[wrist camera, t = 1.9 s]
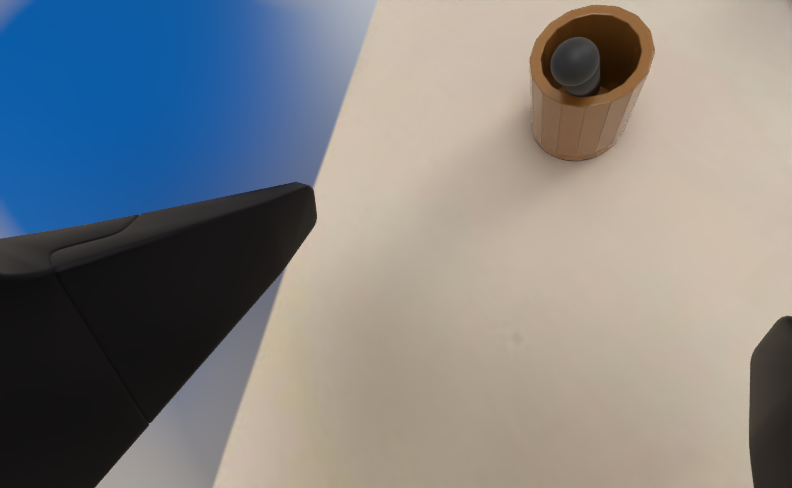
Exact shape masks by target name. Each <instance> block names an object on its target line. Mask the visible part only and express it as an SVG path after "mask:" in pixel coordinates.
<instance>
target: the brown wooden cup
mask: <svg viewBox="0 0 792 488" xmlns="http://www.w3.org/2000/svg"><path fill="white" fill-rule="evenodd" d="M575 37H583V38H587V39H589V40H591V41H592V42H593V43H594V44H595V45H596V46H597V48H598V51H599V55H600V90H599V92H598V94H597V95H596V96H591V97H579V96H572V95H571V94H570V93H569V92H568V91H567V90H566V89H565V88H564V87H563V86H562V85H561V84H559V83H558V82H557V81H556V80H555V78H554V77H553V75H552V72H551V59H552V56H553V54H554V52H555V50H556V49H557V48H558V46H559V45H560V44H562V43H563V42H564V41H566V40H568V39H571V38H575ZM654 51H655V49H654V44H653V39H652V35H651V31H650V29H649V28H648V27H647V26H646V25H645V24H644V23H643V21H642V20H641V19H640V18H639V17H638V16H636V14H633V13H631V12H629V11H627V10H624V9H622V8H620V7H616V6H605V5H590V6H587V7H583V8H579V9H575V10H571V11H569V12H567V13H566V14H564V15H562V16H561V17H559V18H557V19H556V20H554V21H553V22H551V23H550V24H549V25H548V26H547V27H546V29H545V30H544V31H543V32H542V33H541V35H540V36H539V37H538V38H537V39H536V41H535V44H534V47H533V50H532V53H531V56H530V96H531V120H532V131H533V134H534V137H535V139H536V141H537V143H538V144H539V145H540V146H541V147H542V148H543V149H544V150H545V151H546V152H547V153H549V154H551V155H553V156H555V157H557V158H560V159H564V160H585V159H590V158H593V157H596V156H598V155H600V154H602V153H603V152H605V151H607V150H608V149H609V148H610V147H612V146H613V145H614V144H615V143H616V141H617V140H618V139H619V137H620V136H621V134H622V132H623V131H624V129H625V126H626V124H627V122H628V119H629V117H630V115H631V112H632V110H633V108H634V105H635V103H636V101H637V98H638V96H639V94H640V91H641V89H642V87H643V84H644V82H645V80H646V77H647V75H648V73H649V70H650V67H651V63H652V60H653V56H654V53H655V52H654Z"/></svg>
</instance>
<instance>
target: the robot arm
mask: <svg viewBox="0 0 792 488" xmlns="http://www.w3.org/2000/svg"><path fill="white" fill-rule="evenodd" d="M316 220H317V212H316V203H315V195H314V190H313V188H312V187H311V186H309V185H305V184H302V183H298V182H294V183H289V184H284V185H279V186H274V187H269V188H264V189H259V190H255V191H250V192H245V193H240V194H235V195H230V196H225V197H221V198H216V199H211V200H206V201H201V202H196V203H192V204H187V205H182V206H177V207H172V208H167V209H163V210H157V211H153V212H148V213H143V214H141V215H140V216H139V215H133V216H128V217H123V218H118V219H113V220H108V221H103V222H97V223H93V224H87V225H81V226H75V227H70V228H64V229H58V230H52V231H46V232H39V233H34V234H28V235H21V236H15V237H9V238H2V239H0V488H95V487H96V486H97V484H98V483H99V482H100V481H101V480H102V479H103V478H104V476H105V475H106V474H107V473H108V472H109V471H110V469H111V468H112V467H113V466H114V465H115V464H116V463H117V462H118V460H119V459H120V458H121V457H122V456H123V455H124V453H125V452H126V451H127V450H128V449H129V448H130V447H131V445H132V444H133V443H134V442H135V441H136V440H137V438H138V437H139V436H140V435H141V434H142V433H143V432H144V430H145V429H146V428H147V427H148V426H149V423H151V422H152V421H153V420H154V418H155V417H156V416H157V415H158V414H159V413H160V412H161V410H162V409H163V408H164V407H165V406H166V405H167V404H168V402H169V401H170V400H171V399H172V398H173V397H174V396H175V394H176V393H177V392H178V391H179V390H180V389H181V388H182V386H183V385H184V384H185V383H186V382H187V381H188V379H189V378H190V377H191V376H192V375H193V374H194V373H195V371H196V370H197V369H198V368H199V367H200V366H201V365H202V363H203V362H204V361H205V360H206V359H207V358H208V356H209V355H210V354H211V353H212V352H213V351H214V350H215V348H216V347H217V346H218V345H219V344H220V343H221V342H222V340H223V339H224V338H225V337H226V336H227V335H228V333H229V332H230V331H231V330H232V329H233V328H234V327H235V326H236V324H237V323H238V322H239V321H240V320H241V319H242V317H243V316H244V315H245V314H246V313H247V312H248V311H249V309H250V308H251V307H252V306H253V305H254V304H255V303H256V301H257V300H258V299H259V298H260V297H261V296H262V295H263V293H264V292H265V291H266V290H267V289H268V288H269V286H270V285H271V284H272V283H273V281H275V280H276V278H277V277H278V276H279V275H280V274H281V272H282V271H283V270H284V268H285V267H286V266H287V264H288V263H289V262H290V260H291V259H292V257H293V256H294V254H295V253H296V252H297V250H298V249H299V247H300V246H301V244H302V243H303V242H304V240H305V239H306V237H307V236H308V234H309V233H310V232H311V230H312V229H313V227H314V226H315V223H316ZM749 449H750V460H751V468H752V476H753V484H754V488H792V316H785V317H782V318H780V319H779V320H778V321H777V322H776V323H775V324H774V325H773V327H772V328H771V329H770V330H769V332H768V333H767V334H766V335H765V337H764V338H763V339H762V341H761V342H760V343H759V344H758V346H757V347H756V348H755V350H754V352H753V354H752V357H751V363H750V408H749Z"/></svg>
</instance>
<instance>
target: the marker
mask: <svg viewBox="0 0 792 488" xmlns="http://www.w3.org/2000/svg"><path fill="white" fill-rule="evenodd" d="M551 72H552V75H553V77H554V78H555V80H556V81H557V82H558V83H559V84H561V85H562V86H563V87H564V88H565V89H566V90H567V91H568V92H569V93H570V94H571V95H572V96H579V97H591V96H596V95H597V94H598V92H599V90H600V55H599V51H598V48H597V46H596V45H595V44H594V43H593V42H592V41H591V40H589V39H587V38H583V37H575V38H571V39H568V40H566V41H564V42H563V43H562V44H560V45H559V46H558V48H557V49H556V50H555V52H554V54H553V56H552V59H551Z"/></svg>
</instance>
